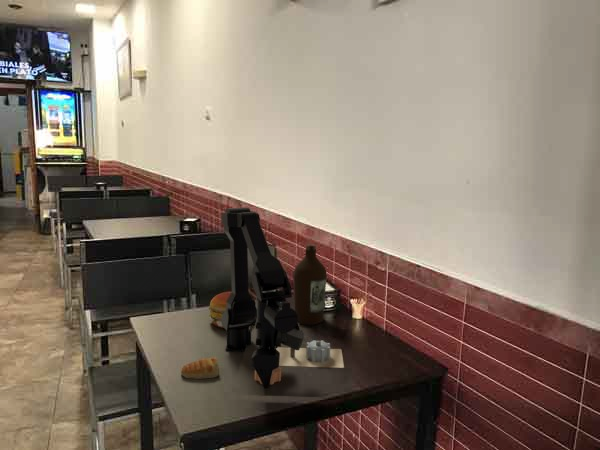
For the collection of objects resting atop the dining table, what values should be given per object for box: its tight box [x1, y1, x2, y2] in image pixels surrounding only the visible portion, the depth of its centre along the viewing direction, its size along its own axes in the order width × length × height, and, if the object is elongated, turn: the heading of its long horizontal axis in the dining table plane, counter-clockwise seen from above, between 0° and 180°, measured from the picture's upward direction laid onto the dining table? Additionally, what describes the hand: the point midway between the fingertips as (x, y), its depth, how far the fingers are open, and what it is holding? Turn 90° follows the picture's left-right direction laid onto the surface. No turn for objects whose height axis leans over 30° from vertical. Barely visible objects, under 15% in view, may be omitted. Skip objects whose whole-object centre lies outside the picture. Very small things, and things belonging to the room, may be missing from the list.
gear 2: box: [305, 340, 331, 363], centre depth 133 cm, size 6×6×4 cm
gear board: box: [276, 346, 345, 369], centre depth 133 cm, size 20×11×6 cm, turn 89°
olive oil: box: [293, 243, 328, 326], centre depth 161 cm, size 11×11×25 cm
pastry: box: [180, 356, 220, 380], centre depth 125 cm, size 9×7×4 cm
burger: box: [208, 291, 232, 329], centre depth 157 cm, size 14×14×10 cm
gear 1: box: [254, 366, 282, 385], centre depth 121 cm, size 6×6×4 cm
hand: (267, 377), depth 121 cm, fingers open, 9 cm apart
